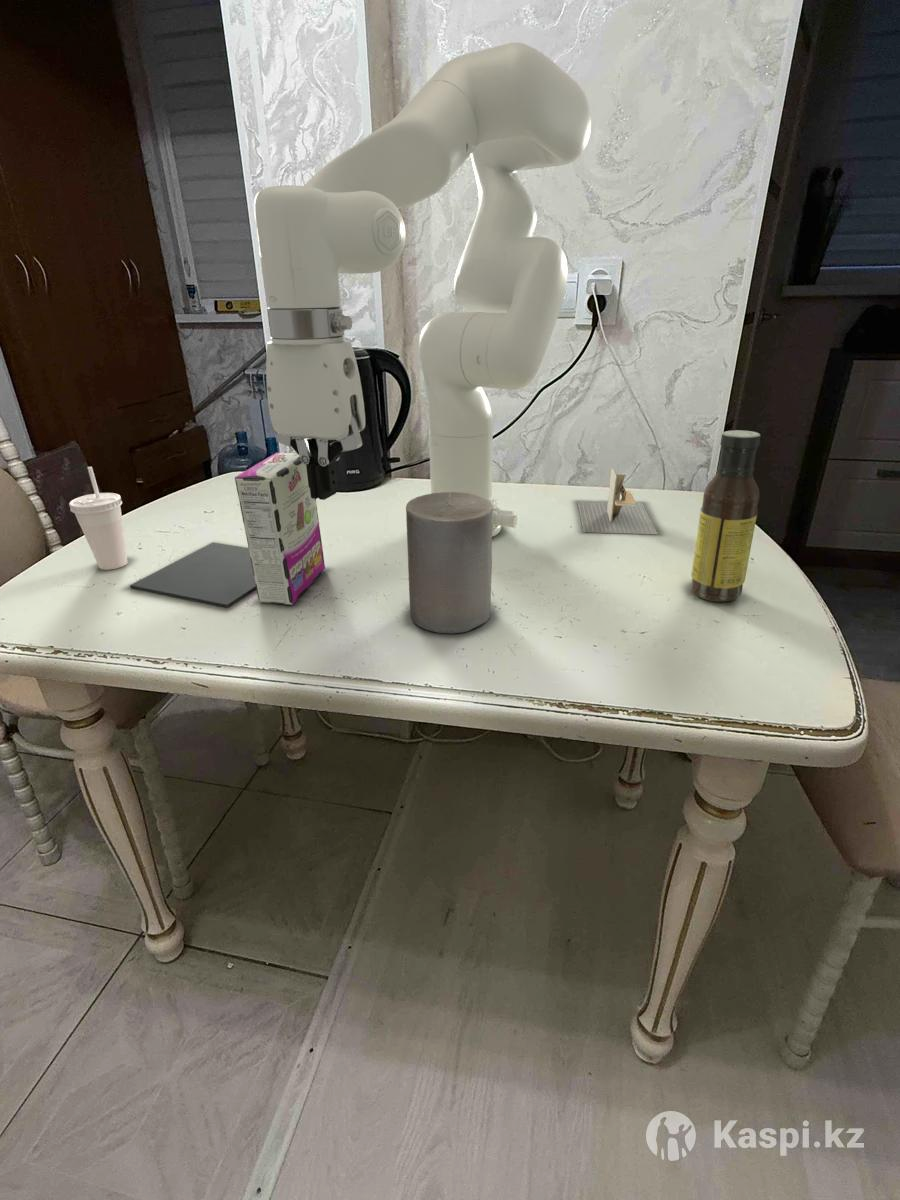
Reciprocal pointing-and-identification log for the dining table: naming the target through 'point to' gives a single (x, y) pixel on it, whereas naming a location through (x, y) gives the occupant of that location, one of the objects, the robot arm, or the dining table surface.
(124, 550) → the smoothie
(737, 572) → the sauce bottle
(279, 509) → the candy bar box
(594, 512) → the architectural model
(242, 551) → the mat
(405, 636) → the dining table surface
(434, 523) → the pillar candle
